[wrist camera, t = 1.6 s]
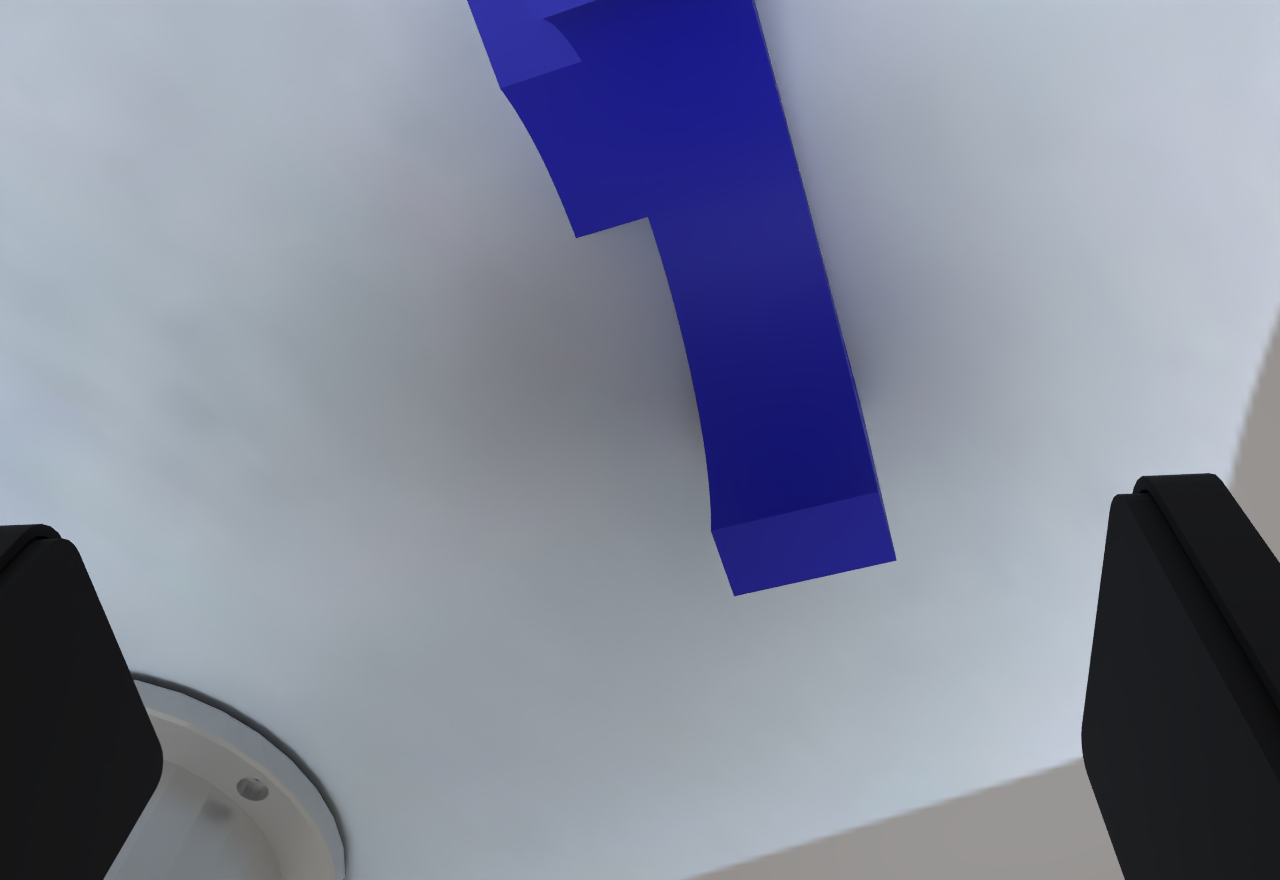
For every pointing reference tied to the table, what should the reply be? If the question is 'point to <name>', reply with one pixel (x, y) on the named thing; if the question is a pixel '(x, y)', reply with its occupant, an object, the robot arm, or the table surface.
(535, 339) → the table surface
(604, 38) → the cable clip
